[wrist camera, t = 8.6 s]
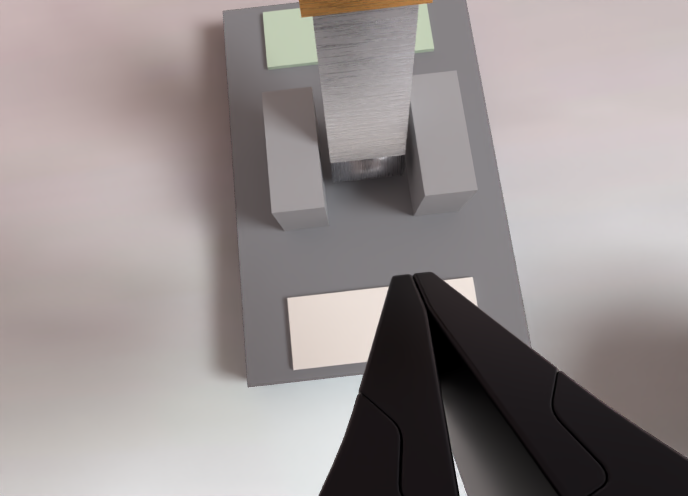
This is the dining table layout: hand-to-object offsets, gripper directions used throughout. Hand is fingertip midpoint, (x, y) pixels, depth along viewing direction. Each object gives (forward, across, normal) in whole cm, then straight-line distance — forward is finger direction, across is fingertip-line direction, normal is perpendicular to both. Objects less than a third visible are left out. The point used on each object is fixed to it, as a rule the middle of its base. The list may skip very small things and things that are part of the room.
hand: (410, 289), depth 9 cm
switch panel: (+12, 0, +3) cm, 13 cm away
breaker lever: (+10, 0, +1) cm, 10 cm away
